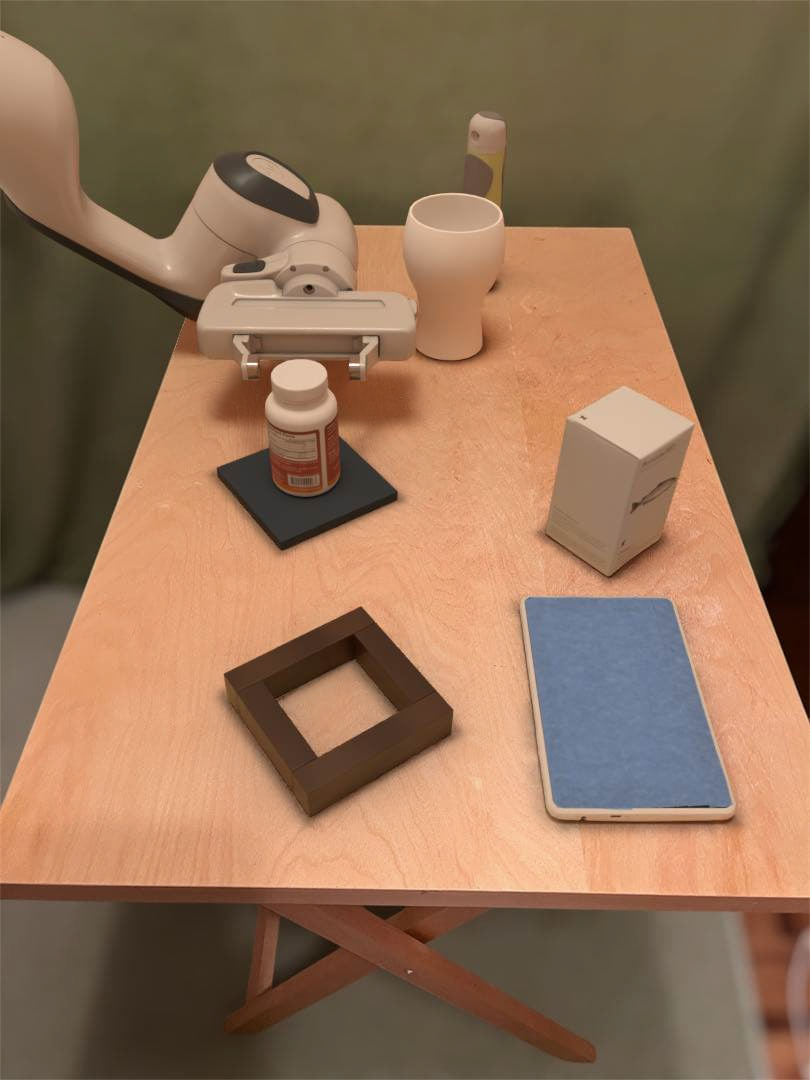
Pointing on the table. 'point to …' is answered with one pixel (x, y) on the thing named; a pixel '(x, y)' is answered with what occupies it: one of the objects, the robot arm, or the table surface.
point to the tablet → (620, 712)
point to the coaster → (305, 515)
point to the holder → (363, 754)
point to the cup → (452, 269)
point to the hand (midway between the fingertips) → (303, 374)
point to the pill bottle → (302, 429)
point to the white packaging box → (616, 477)
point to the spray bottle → (486, 157)
